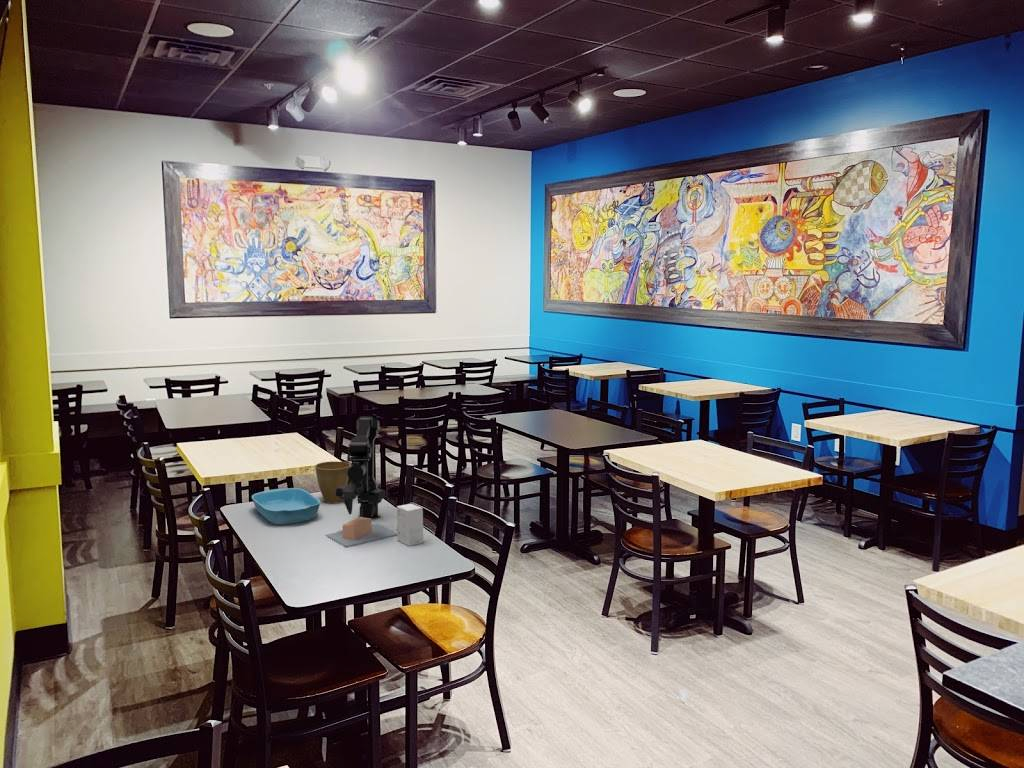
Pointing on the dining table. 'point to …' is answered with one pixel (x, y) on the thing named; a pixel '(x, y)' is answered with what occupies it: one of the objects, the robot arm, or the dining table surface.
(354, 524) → the block
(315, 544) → the dining table surface
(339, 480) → the plant pot
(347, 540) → the mat
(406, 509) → the small box
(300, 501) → the casserole dish
